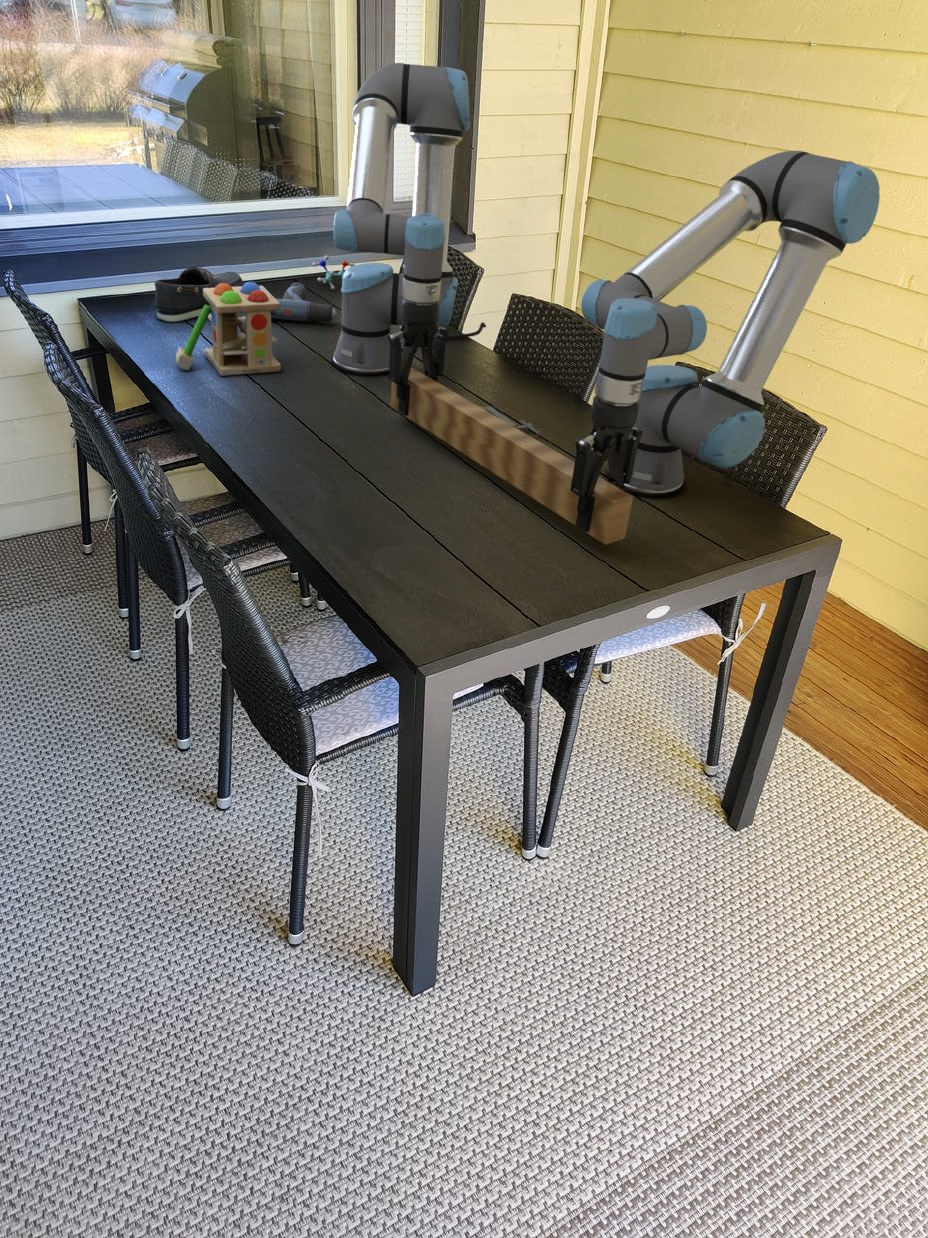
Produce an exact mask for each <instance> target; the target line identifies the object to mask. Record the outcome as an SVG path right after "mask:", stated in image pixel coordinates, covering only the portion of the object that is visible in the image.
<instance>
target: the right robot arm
mask: <svg viewBox="0 0 928 1238" xmlns="http://www.w3.org/2000/svg"><path fill="white" fill-rule="evenodd" d="M880 189H881V188H880V183H879V180H878V177H877V175H876V173H875V172H874V171H873V170H872V169H871V168H869V167H867V166H863V165H860V164H857V163H855V162H854V161H850V160H848V161H846V160H842V159H837V158H833V157H827V156H823V155H818V154H814V153H810V152H807V151H803V150H786V151H781V152H777V153H774V154H771V155H769V156H767V157H765V158H762V159H760V160H758V161H756V162H754V163H752V164H750V165H748V166H747V167H745V168H743V169H742V170H740V171H739V172H737V173H736V174H735V175H733V176H732V177H731V178H729V179H728V180H727V181H726V182H725V183H723V184H722V185H721V187H720V189H719V193H718V196H717V197H715V198H714V199H713V200H712V201H711V202H710V203H708V204H707V205H706V206H705V207H703V208H702V209H701V210H700V211H698V212H697V213H696V214H695V215H694V216H693V217H691V218H690V219H689V220H687V221H686V222H685V223H684V224H683V225H682V226H680V227H679V228H678V229H677V230H675V231H674V232H673V233H672V234H671V235H669V236H668V237H667V238H666V239H665V240H663V241H662V242H661V243H660V244H659V245H657V246H656V247H654V248H653V249H652V250H651V251H649V252H648V254H646V255H645V256H644V257H643V258H641V259H640V260H638V261H637V262H636V263H635V264H634V265H633V266H632V267H630V268H629V269H628V270H626V271H625V272H624V273H623V274H622V275H620V277H618V278H617V279H616V280H615V281H612V280H609V279H598V280H594V281H593V282H591V283H590V284H589V285H588V286H587V288H586V289H585V290H584V292H583V294H582V298H581V303H580V308H581V313H582V316H583V318H584V320H586V322H588V323H590V324H592V325H594V326H596V327H597V328H598V329H600V330H602V331H604V333H603V340H602V347H601V351H600V359H599V365H598V369H597V375H596V380H595V386H594V395H595V396H593V398H592V403H591V411H590V419H591V421H592V427H591V429H590V431H589V434H588V436H586V437H585V438H580V437H578V438H577V439H576V440H575V449H576V454H575V459H574V462H575V465H574V471H573V477H572V483H571V489H570V490H571V491H572V492H573V493H575V494H576V495H578V496H579V498H578V504H577V511H578V515H577V520H576V525H575V527H577V528H578V529H580V530H582V531H583V532H585V533H586V532H588V531H589V530H590V524H591V519H592V513H593V508H594V502H595V497H593V496H592V494H593V492H594V489H595V486H596V483H597V480H598V478H599V477H600V475H601V472H602V470H603V466H604V465H605V464H604V463H605V462H607V468H606V469H607V470H606V478H607V481H608V482H609V483H611V484H613V485H614V486H616V487H618V488H620V489H621V490H623V491H625V492H626V493H628V494H632V495H636V496H643V497H649V498H650V497H651V498H662V497H668V496H673V495H675V494H677V493H678V492H680V491H681V490H682V488H683V484H684V480H685V473H684V465H683V456H682V451H684V452H686V453H688V454H690V455H692V456H694V457H696V458H698V459H700V461H701V462H703V463H706V464H711V465H713V466H715V467H718V468H720V469H728V468H732V467H736V466H737V465H738V464H740V463H742V462H744V461H745V460H746V459H748V457H749V456H751V454H752V453H753V452H754V451H755V450H756V448H757V447H758V445H759V444H760V442H761V440H762V438H763V436H764V434H765V429H764V428H765V427H766V420H765V417H764V416H763V414H762V413H761V411H762V409H763V407H764V405H765V402H764V398H763V395H762V390H763V389H764V387H765V385H766V383H767V381H768V379H769V377H770V375H771V373H772V371H773V369H774V367H775V365H776V363H777V362H778V359H779V357H780V355H781V353H782V351H783V349H784V347H785V346H786V343H787V342H788V340H789V338H790V336H791V334H792V332H793V330H794V328H795V326H796V324H797V322H798V320H799V318H800V317H801V314H802V312H803V310H804V308H805V306H806V305H807V303H808V301H809V298H811V297H810V296H811V295H812V293H813V292H814V289H815V287H816V285H817V283H818V281H819V279H820V277H821V275H822V273H823V272H824V270H825V268H826V265H827V264H828V263H829V262H830V261H832V260H834V259H836V258H838V257H841V256H842V254H843V252H844V251H845V248H846V246H847V244H849V245H853V244H856V243H859V242H860V241H862V240H863V238H864V237H866V236H867V234H868V233H869V232H870V230H871V229H872V227H873V225H874V222H875V220H876V217H877V214H878V210H879V205H880V197H881V196H880ZM768 222H779V223H780V225H779V227H778V228H777V231H778V235H779V238H780V244H779V246H778V248H777V250H776V251H775V254H774V257H773V258H772V259H771V262H770V264H769V267H768V268H767V270H766V272H765V275H764V277H763V279H762V281H761V283H760V285H759V287H758V289H757V291H756V292H755V294H754V297H753V298H752V300H751V303H750V305H749V307H748V309H747V311H746V312H745V315H744V317H743V319H742V322H741V323H740V325H739V327H738V330H737V331H736V333H735V335H734V336H733V340H732V341H731V343H730V345H729V347H728V349H727V352H726V354H725V356H724V358H723V359H722V360H721V361H722V362H721V364H720V365H719V368H718V369H717V371H716V372H715V373H713V374H710V375H708V376H706V377H705V378H704V379H703V381H702V383H701V385H697V382H698V380H699V379H698V373H697V372H696V370H694V369H691V368H689V367H685V366H681V365H672V364H655V365H649V364H648V363H649V361H653V360H656V359H661V358H662V359H663V358H667V357H673V356H682V355H685V354H686V353H690V352H693V351H696V350H698V348H700V347H701V346H702V345H703V343H704V341H705V340H706V336H707V332H708V323H707V319H706V316H705V314H704V313H703V311H702V310H701V309H700V308H698V307H697V306H696V305H689V304H687V305H686V304H679V305H677V306H675V305H670V304H668V303H665V302H662V300H663V299H664V298H665V297H666V296H668V295H669V294H670V293H671V292H672V291H674V290H675V289H676V288H678V286H680V285H681V284H682V283H683V282H685V281H686V280H687V279H688V278H689V277H690V276H692V275H693V274H694V273H695V272H696V271H698V270H699V269H700V268H701V267H702V266H704V265H705V264H707V262H709V261H710V260H711V259H712V258H714V256H716V255H718V253H719V252H721V251H722V250H723V249H724V248H726V247H727V246H728V245H729V244H730V243H732V242H733V241H734V240H735V239H737V238H738V237H739V236H740V235H741V234H742V233H744V232H752V231H755V230H756V229H757V228H759V227H760V226H761V225H762V224H764V223H768Z"/></svg>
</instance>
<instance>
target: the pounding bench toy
mask: <svg viewBox="0 0 928 1238" xmlns="http://www.w3.org/2000/svg"><path fill="white" fill-rule="evenodd" d="M203 296H204V297H205V299H206V300H207V301H208V302H209V304H210V305H211V307H210V306H208V305H204V307H203V309H202V311H201V314H200V316H198V318H197V320H196V322H195V324H194V327H193V329H192V331H191V332H190V333H191V334H190V336H189V338H188V340H187V343H186V344H185V347H184V348H182V347H180V346H179V347H178V349H177V351H176V354H175V357H174V358H175V362H176V365H177V366H178V368H179V369H182V370H185V371H189V370H190V369H191V367H192V365H193V363H194V356H193V351H194V348H195V347H196V345H197V342H198V340H199V337H200V336H201V333H202V332H203V329H204V326H205V325H206V322H207V320H209V321H210V322H211V336H212V337H211V338H212V339H211V340H212V348H205V349H204V352H205V353H204V355H205V357H206V359H208V361H209V363H210V364H211V365H212V366H213V367H214V369H215V370H216V371H217V372H218V374H219V375H220V376H222V377H223V376H234V375H235V376H236V375H246V374H247V375H250V374H262V373H275V372H281V370H282V364H281V363H280V362H279V360H278V359H277V358H276V357H275V356H274V355H273V348H272V347H273V345H272V344H276V343H278V342H279V341H278V339H277V338H276V337H275V336H274V334H272V318H271V310H280V303H279V302H278V301H277V300H276V299H277V298H276V297H274V296H273V295H272V294H271V293H270V292H269V290H268V289H267V288H266V287H264V285H259V284H257V283H256V282H255V281H247V282H245V283H243V286H242V287H231V286H230V285H228V284H226V283H221V284H218V285H217V286H216V287H215V288H204V289H203ZM238 313H244V314H245V315H244V316H238ZM238 329H239V331H240V333H239V334H238Z"/></svg>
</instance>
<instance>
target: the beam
mask: <svg viewBox="0 0 928 1238" xmlns="http://www.w3.org/2000/svg"><path fill="white" fill-rule="evenodd" d="M407 384H409V385H410V397H409V414H408V415H407V416H405V415H404V414H402V413H400V412H399V411H398V409H399V399H398V398H397V396H396V394H397V384H396V383H394V382H392V381H391V386H390V387H391V389H390V408H392V409H394V410H395V411H397V412H398V413H400V414H402V415H403V416H405V417H406V418H408V419H409V420H411V421H412V422H414V424H415V423H416V424H417V425H418V426H420V427H421V428H423V429H425V430H426V431H427V432H429V433H431V434H433V435H434V436H435V437H437V438H439V439H440V440H442V441H443V442H445V443H446V444H448V445H450V446H451V447H452V448H454V449H456V450H457V451H459V452H461V453H462V454H464V455H465V456H467V457H468V458H470V459H471V460H473V461H474V462H476V463H478V464H479V465H480V466H482V467H484V468H486V470H488V471H490V472H492V473H493V474H495V475H496V476H498V477H500V478H501V479H503V480H504V481H505V482H507V483H509V484H510V485H512V486H513V487H515V488H516V489H518V490H520V491H521V492H522V493H524V494H526V495H527V496H529V497H530V498H532V499H533V500H535V501H537V502H538V503H539V504H541V505H543V506H544V507H546V508H548V509H549V510H551V511H552V512H554V513H556V514H557V515H559V516H560V517H562V518H563V519H565V520H566V521H567V522H569V523H571V524H572V525H574V526H576V520H577V515H578V511H577V504H578V498H579V496H578V495H576V494H575V493H573V492H572V491H571V490H570V489H571V483H572V477H573V471H574V465H575V461H573V460H572V459H570V458H568V457H566V456H565V455H563V454H561V453H560V452H558V451H556V450H554V449H552V448H551V447H550V446H548V445H546V444H545V443H543V442H541V441H539V440H537V439H536V438H534V437H532V436H530V435H529V434H527V433H526V432H524V431H522V430H518V429H517V428H515V427H513V426H511V425H510V424H508V423H506V422H505V421H503V420H501V419H499V418H498V417H496V416H494V415H493V414H491V413H489V412H487V411H486V410H484V409H482V408H481V407H482V406H479V405H477V404H475V403H474V402H472V401H471V400H468V399H467V398H465V397H464V396H462V395H460V394H458V393H457V392H455V391H453V390H451V389H450V388H448V387H446V386H444V385H443V384H441V383H439V382H438V381H434V380H432V379H431V378H429V377H427V376H426V375H425V373H422V372H420V371H419V370H418V369H415V368H413V367H412V366H411V370H410V374H409V378H408V382H407ZM592 496H593V497H595V502H594V508H593V513H592V519H591V524H590V530H589V531H588V532H585V533H586V534H587V535H590V536H591V537H592V538H594V539H595V540H597V541H599V542H600V543H602V544H603V545H609V544H613V543H615V542H619V541H621V540H624V539H626V534H627V530H628V525H629V520H630V515H631V511H632V505H633V500H634V495H633V494H632V495H631V493H629V492H626V491H623V490H621V489H620V488H618V487H616V486H614V485H613V484H611V483H609V482H608V480H606V479H604V478H602V477H601V476H599V478H598V480H597V483H596V486H595V489H594V492H593V494H592Z"/></svg>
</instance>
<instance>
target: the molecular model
mask: <svg viewBox="0 0 928 1238" xmlns="http://www.w3.org/2000/svg"><path fill="white" fill-rule="evenodd" d="M329 258H330V257H329V255H324V259H323V260H320V262H316V261H313V262H312V266H313V267H317V266H320V267H322V268H323V269H324V271H325V272H326V273H325V277H322V278H321V277H317V282H318V283H321V282H322V283H323V284H324V285H326V284H327V283H329V286H330V289H331V290H332V291H334V290H335V289H336V286H335V285H333V282H332V280H333V279H332V277H339V278H341V279H343V274H344V272H345V268H346V267H348V266H349V267H352V266H355V263H354V262H351V263H349V262H348V261H346V260H344V261H342V263H341V265H342V267H341V270H340V271H338V273H335V270H333V269H331V270H330V271H329V270H328V268H327V261H328V260H329Z"/></svg>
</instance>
